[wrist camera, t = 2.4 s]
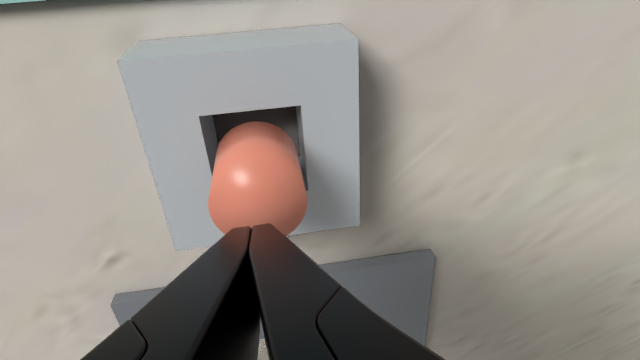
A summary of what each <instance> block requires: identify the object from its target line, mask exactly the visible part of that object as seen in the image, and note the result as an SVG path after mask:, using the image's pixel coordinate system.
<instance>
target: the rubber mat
mask: <svg viewBox="0 0 640 360" xmlns="http://www.w3.org/2000/svg"><path fill="white" fill-rule="evenodd" d="M31 1H44V0H0V4H5V3H18V2H31Z"/></svg>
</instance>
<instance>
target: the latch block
mask: <svg viewBox="0 0 640 360" xmlns="http://www.w3.org/2000/svg"><path fill="white" fill-rule="evenodd" d="M117 63H118V66H119V70H120V73H121V76H122V79H123V82H124V86H125V89H126V92H127V95H128V99H129V102H130V105H131V108H132V111H133V115H134V118H135V121H136V124H137V127H138V131H139V134H140V137H141V140H142V143H143V147H144V150H145V153H146V156H147V160H148V163H149V166H150V169H151V172H152V176H153V179H154V182H155V185H156V188H157V192H158V195H159V198H160V201H161V204H162V208H163V211H164V214H165V217H166V221H167V224H168V227H169V230H170V233H171V237H172V240H173V243H174V246H175V249H176V251H177V250H185V249H192V248H199V247H207V246H213V245H214V244H215V243H216V242H217V241H218V240H220V239H221V238H222V237H223V236H224V235H225V234H224V233H223V232H221V231H220V230H219V229H218V228H217V226H216V225H215V224H214V222H213V220H212V218H211V216H210V213H209V208H208V199H209V193H210V187H211V182H212V176H213V170H214V164H215V158H216V152H217V148H218V140H217V135H216V130H215V126H214V121H213V116H212V115H215V114H225V113H234V112H244V111H253V110H262V109H272V108H281V107H291V106H296V114H297V125H298V135H299V146H300V156H298V158H299V163H300V168H301V172H302V177H303V181H304V186H305V191H306V196H307V209H306V213H305V216H304V218H303V220H302V221H301V223H300V224H299V225H298V227H297V228H296V229H295V230H294V231H293V232H291V233H290V234H289V235H295V234H302V233H309V232H317V231H324V230H331V229H339V228H346V227H353V226H360V168H359V55H358V38H357V37H356V36H355V35H353V34H352V33H351V32H350V31H349V30H348V29H347V28H346V27H344V26H343V25H342V24H341V23H339V24H328V25H316V26H305V27H293V28H282V29H271V30H259V31H248V32H236V33H225V34H213V35H202V36H191V37H179V38H168V39H156V40H145V41H139V42H138V43H137V44H136V45H135V46H134V47H132V48H131V49H130V50H129V51H128V52H127V53H125V54H124V55H123V56H122V57H121V58H120V59H118V60H117Z"/></svg>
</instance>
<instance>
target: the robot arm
mask: <svg viewBox="0 0 640 360" xmlns="http://www.w3.org/2000/svg"><path fill="white" fill-rule="evenodd" d="M260 317H261V318H260ZM260 322H261V323H262V328H263V333H264V338H265V343H266V348H267V353H268V357H269V360H445V359H444V358H442V357H441V356H439V355H437V354H436V353H434V352H433V351H431V350H430V349H428V348H427V347H425V346H424V345H422V344H421V343H419V342H418V341H416V340H415V339H413V338H412V337H410V336H409V335H407V334H406V333H404V332H402V331H401V330H399V329H398V328H396V327H395V326H394V325H392V324H391V323H389V322H388V321H386V320H385V319H384V318H382V317H381V316H379V315H378V314H376V313H375V312H374V311H372V310H371V309H370V308H369V307H367V306H366V305H365V304H364V303H362V302H361V301H360V300H359V299H357V298H356V297H355V296H354V295H353V294H351V293H350V292H349V291H348V290H347V289H346V288H344V287H342V286H341V285H340V284H339V283H338V282H337V281H336V280H335V279H333V278H332V277H331V276H330V275H329V274H328V273H327V272H325V271H324V270H323V269H322V268H321V267H320V266H319V265H318V264H316V263H315V262H314V261H313V260H312V259H311V258H310V257H308V256H307V255H306V254H305V253H304V252H303V251H302V250H300V249H299V248H298V247H297V246H296V245H295V244H294V243H292V242H291V241H290V240H289V239H288V238H287V237H286V236H284V235H283V234H282V233H281V232H280V231H279V230H278V229H277V228H275V227H274V226H273V225H272V224H270V223H267V224H259V225H254V226H253V227H252V228H251V227H250V226H245V227H237V228H233V229H231V230H230V231H229V232H228V233H226V234H225V235H224V236H223V237H222V238H221V239H220V240H218V241H217V242H216V243H215V244H214V245H213V246H212V247H210V248H209V249H208V250H207V251H206V252H205V253H204V254H203V255H201V256H200V257H199V258H198V259H197V260H196V261H195V262H193V263H192V264H191V265H190V266H189V267H188V268H187V269H186V270H184V271H183V272H182V273H181V274H180V275H179V276H178V277H176V278H175V279H174V280H173V281H172V282H171V283H170V284H168V285H167V286H166V287H165V288H164V289H163V290H162V291H161V292H159V293H158V294H157V295H156V296H155V297H154V298H153V299H151V300H150V301H149V302H148V303H147V304H146V305H145V306H144V307H142V308H141V309H140V310H139V311H138V312H137V313H136V314H134V315H133V316H132V317H131V319H130V320H127V321H125V322H124V323H123V324H122V325H121V326H120V327H119V328H117V329H116V330H115V331H114V332H113V333H112V334H111V335H109V336H108V337H107V338H106V339H105V340H103V341H102V342H101V343H100V344H99V345H97V346H96V347H95V348H94V349H93V350H91V351H90V352H89V353H88V354H87V355H86V356H84V357H83V358H82V359H81V360H257V357H258V347H259V336H260Z"/></svg>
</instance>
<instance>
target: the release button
mask: <svg viewBox="0 0 640 360" xmlns="http://www.w3.org/2000/svg"><path fill="white" fill-rule="evenodd" d="M208 208H209V213H210V216H211V218H212V220H213V222H214V224H215V225H216V226H217V228H218V229H219V230H220V231H221V232H223V233H224V234H226V233H228V232H229V231H230V230H231V229H233V228H237V227H245V226H250V227H251V228H252V227H253V226H254V225H259V224H267V223H270V224H272V225H273V226H274V227H275V228H277V229H278V230H279V231H280V232H281V233H282V234H283V235H284V236H287V235H289V234H290V233H291V232H293V231H294V230H295V229H296V228H297V227H298V225H299V224H300V223H301V221H302V220H303V218H304V216H305V213H306V209H307V196H306V191H305V186H304V181H303V177H302V172H301V168H300V163H299V158H298V154H297V149H296V146H295V144H294V142H293V140H292V139H291V137H290V136H289V135H288V134H287V133H286V132H285V131H284V130H282V129H281V128H279V127H278V126H275V125H273V124H270V123H267V122H259V121H254V122H246V123H243V124H240V125H238V126H236V127H234V128H232V129H231V130H230V131H228V132H227V133H226V134H225V135H224V136H223V138H222V139H221V141H220V143H219V145H218V148H217V152H216V158H215V164H214V170H213V176H212V182H211V187H210V193H209V199H208Z"/></svg>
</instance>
